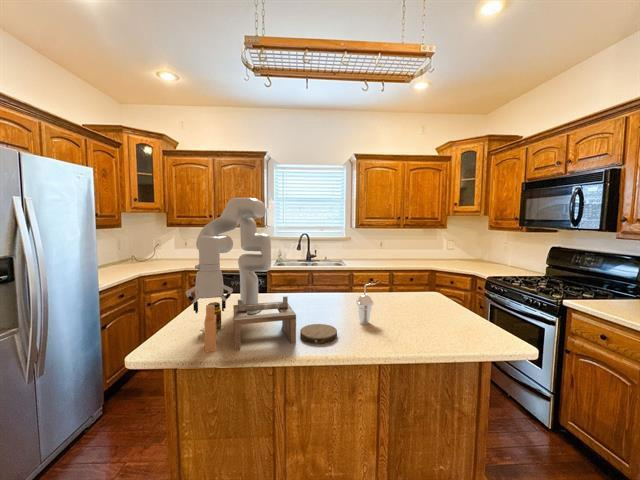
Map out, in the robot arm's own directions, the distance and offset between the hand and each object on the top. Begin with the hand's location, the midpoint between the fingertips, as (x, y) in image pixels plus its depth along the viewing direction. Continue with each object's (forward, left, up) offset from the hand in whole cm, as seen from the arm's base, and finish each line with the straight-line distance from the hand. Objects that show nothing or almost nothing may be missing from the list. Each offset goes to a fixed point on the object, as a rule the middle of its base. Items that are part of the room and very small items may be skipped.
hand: (210, 311), depth 116 cm
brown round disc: (+2, +44, -15) cm, 47 cm away
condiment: (-20, 0, -15) cm, 25 cm away
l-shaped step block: (0, 0, -14) cm, 14 cm away
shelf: (-4, +21, -14) cm, 26 cm away
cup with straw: (-8, +71, -15) cm, 73 cm away
